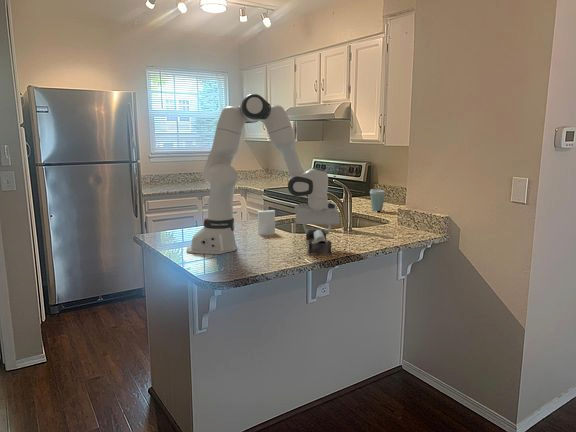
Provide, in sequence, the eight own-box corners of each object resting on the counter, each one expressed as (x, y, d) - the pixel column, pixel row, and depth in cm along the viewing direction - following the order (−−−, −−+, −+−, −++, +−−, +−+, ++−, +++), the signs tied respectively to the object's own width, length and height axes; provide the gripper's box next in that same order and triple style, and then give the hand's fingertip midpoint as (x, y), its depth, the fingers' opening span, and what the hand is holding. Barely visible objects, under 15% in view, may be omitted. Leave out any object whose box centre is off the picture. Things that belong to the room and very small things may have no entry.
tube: (311, 230, 210) (314, 242, 186) (321, 227, 210) (326, 238, 186) (314, 240, 211) (318, 253, 187) (324, 237, 211) (329, 250, 186)
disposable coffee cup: (386, 210, 295) (387, 189, 292) (383, 213, 285) (383, 190, 282) (371, 209, 299) (371, 188, 296) (367, 212, 289) (367, 190, 287)
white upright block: (272, 231, 232) (272, 209, 230) (277, 234, 224) (277, 212, 222) (256, 232, 230) (255, 210, 227) (260, 235, 221) (260, 213, 219)
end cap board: (308, 255, 185) (308, 243, 184) (305, 239, 214) (305, 229, 213) (331, 255, 185) (331, 243, 184) (325, 239, 214) (325, 229, 213)
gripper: (294, 204, 192) (294, 234, 195) (340, 205, 192) (339, 235, 195) (294, 202, 198) (294, 231, 201) (339, 203, 198) (338, 232, 201)
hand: (316, 233), depth 198 cm, fingers open, 8 cm apart
